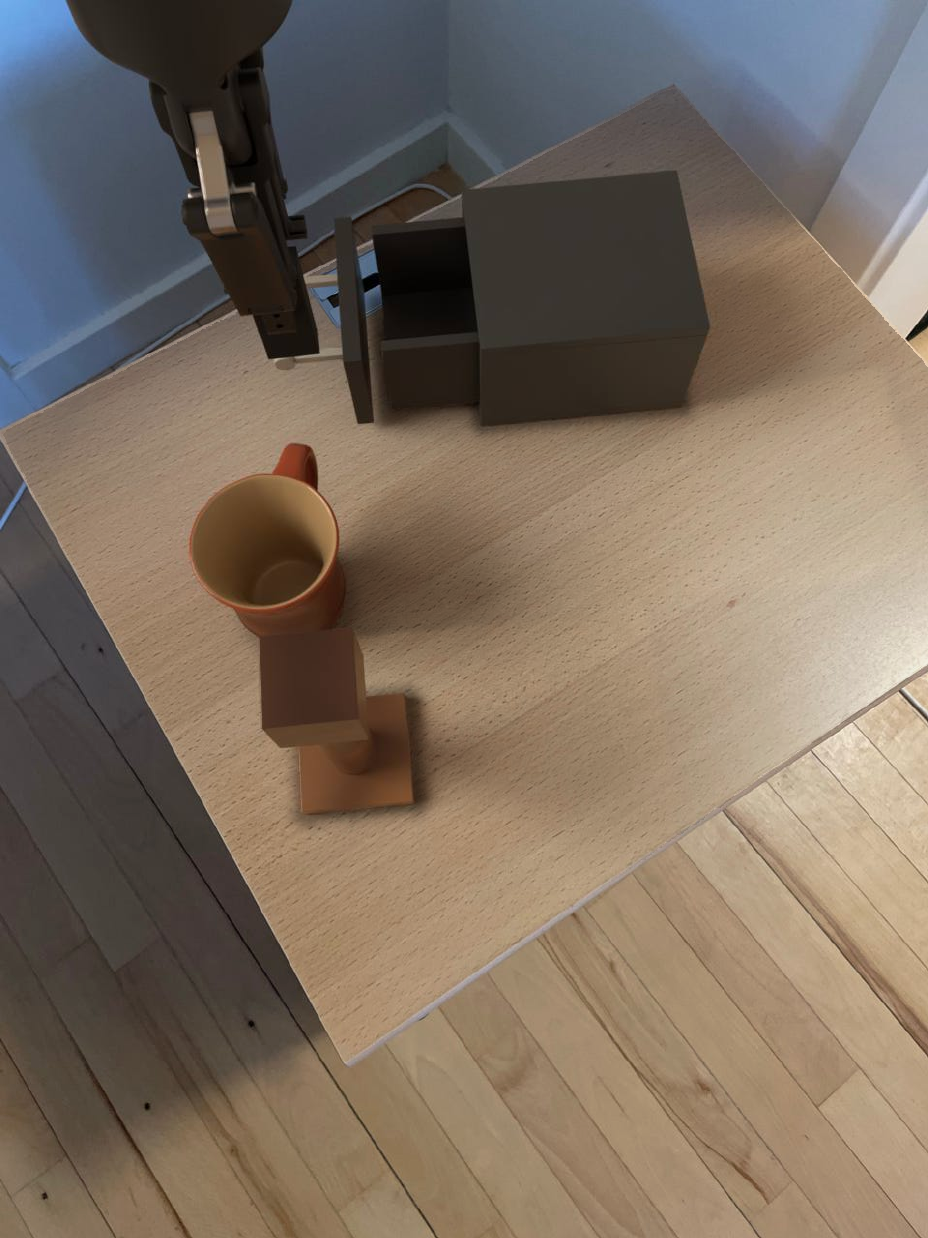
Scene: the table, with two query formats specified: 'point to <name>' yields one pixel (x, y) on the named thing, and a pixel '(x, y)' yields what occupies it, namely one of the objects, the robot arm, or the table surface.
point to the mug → (272, 549)
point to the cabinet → (583, 297)
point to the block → (312, 688)
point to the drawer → (407, 316)
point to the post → (361, 764)
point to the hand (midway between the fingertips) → (293, 344)
